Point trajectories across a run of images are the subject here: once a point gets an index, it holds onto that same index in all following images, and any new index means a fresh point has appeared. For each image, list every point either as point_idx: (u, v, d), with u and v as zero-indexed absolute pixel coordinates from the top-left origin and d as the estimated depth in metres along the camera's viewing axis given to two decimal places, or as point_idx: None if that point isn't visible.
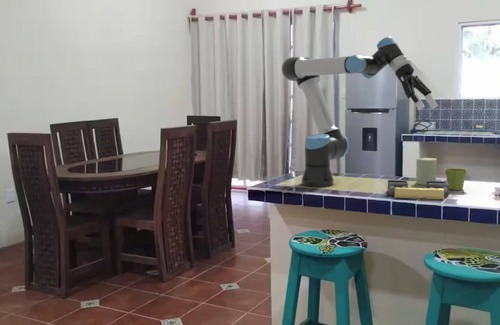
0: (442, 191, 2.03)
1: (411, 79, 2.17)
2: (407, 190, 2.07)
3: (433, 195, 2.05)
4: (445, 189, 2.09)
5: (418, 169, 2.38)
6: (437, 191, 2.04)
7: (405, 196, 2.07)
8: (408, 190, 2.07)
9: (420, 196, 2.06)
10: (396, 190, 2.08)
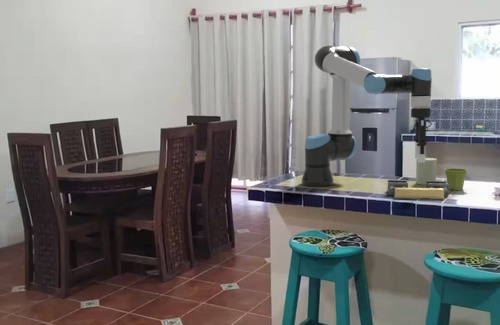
0: (442, 191, 2.04)
1: None
2: (407, 190, 2.06)
3: (433, 195, 2.05)
4: (445, 189, 2.09)
5: (418, 169, 2.38)
6: (437, 191, 2.04)
7: (405, 196, 2.07)
8: (408, 190, 2.06)
9: (420, 196, 2.06)
10: (396, 190, 2.07)
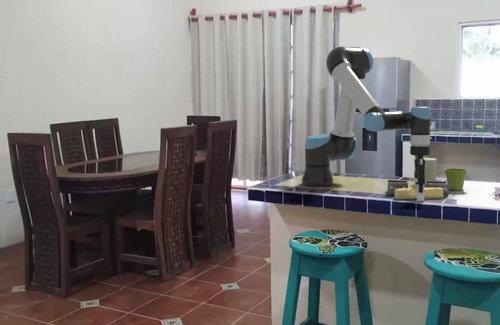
0: (441, 190, 2.06)
1: (424, 164, 2.03)
2: (409, 191, 2.05)
3: (433, 194, 2.06)
4: (445, 189, 2.09)
5: None
6: (437, 190, 2.06)
7: (407, 197, 2.05)
8: (410, 190, 2.05)
9: None
10: (399, 191, 2.05)
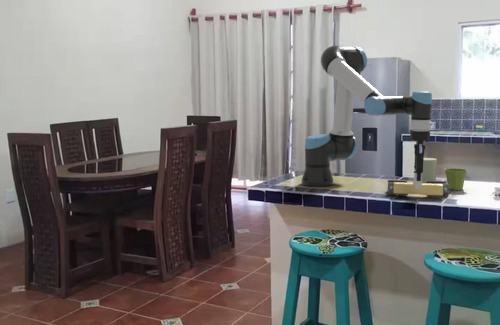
0: (441, 186, 2.04)
1: None
2: (406, 185, 2.07)
3: (432, 190, 2.05)
4: (445, 189, 2.09)
5: None
6: (436, 186, 2.04)
7: (404, 191, 2.08)
8: (407, 185, 2.07)
9: (419, 191, 2.06)
10: (395, 185, 2.08)
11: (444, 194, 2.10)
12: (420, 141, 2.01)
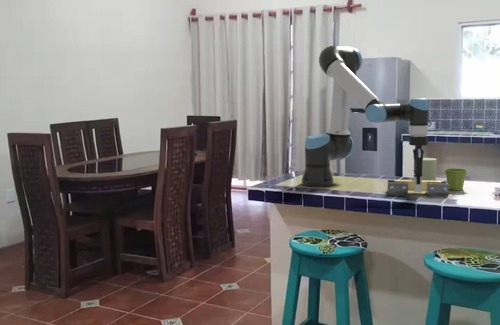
0: (440, 183, 2.11)
1: None
2: (406, 182, 2.15)
3: None
4: (445, 189, 2.09)
5: None
6: None
7: None
8: (407, 182, 2.15)
9: None
10: (396, 182, 2.16)
11: (444, 194, 2.10)
12: (418, 146, 2.10)
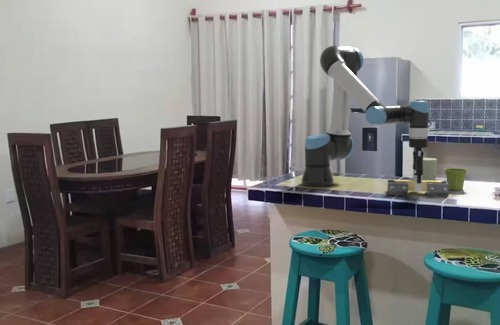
0: (440, 183, 2.11)
1: None
2: (406, 182, 2.15)
3: None
4: (445, 189, 2.09)
5: None
6: None
7: None
8: (407, 182, 2.15)
9: None
10: (396, 182, 2.16)
11: (444, 194, 2.10)
12: None
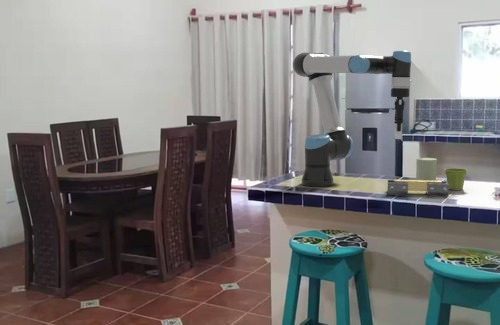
0: (440, 183, 2.11)
1: (403, 105, 2.15)
2: (406, 182, 2.15)
3: None
4: (445, 189, 2.09)
5: (418, 169, 2.38)
6: None
7: None
8: (407, 182, 2.15)
9: (419, 188, 2.14)
10: (396, 182, 2.16)
11: (444, 194, 2.10)
12: None
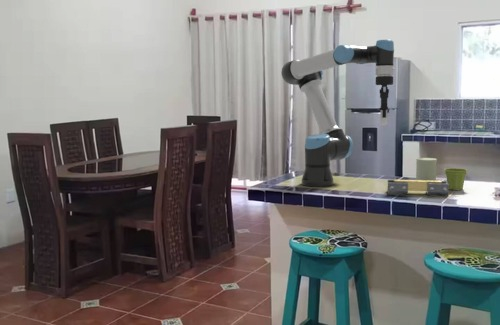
0: (440, 183, 2.11)
1: None
2: (406, 182, 2.15)
3: None
4: (445, 189, 2.09)
5: (418, 169, 2.38)
6: None
7: None
8: (407, 182, 2.15)
9: (419, 188, 2.14)
10: (396, 182, 2.16)
11: (444, 194, 2.10)
12: None
